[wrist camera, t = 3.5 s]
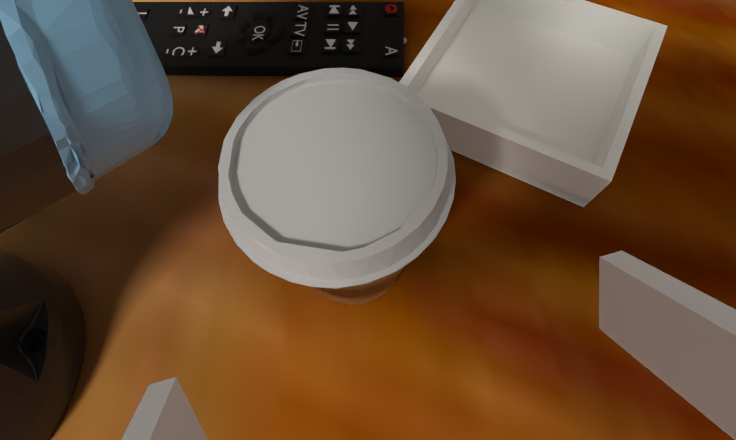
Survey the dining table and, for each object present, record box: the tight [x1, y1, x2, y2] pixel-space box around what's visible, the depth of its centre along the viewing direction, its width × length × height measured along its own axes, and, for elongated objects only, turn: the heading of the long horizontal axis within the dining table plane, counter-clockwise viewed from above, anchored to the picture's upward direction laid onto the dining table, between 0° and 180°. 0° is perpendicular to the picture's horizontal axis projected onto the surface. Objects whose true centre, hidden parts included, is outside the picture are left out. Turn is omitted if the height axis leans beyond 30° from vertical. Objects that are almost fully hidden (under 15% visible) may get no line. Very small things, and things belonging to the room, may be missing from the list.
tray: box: [399, 0, 668, 207], centre depth 29 cm, size 15×15×4 cm
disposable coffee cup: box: [218, 68, 456, 305], centre depth 20 cm, size 10×10×12 cm
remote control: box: [133, 2, 407, 77], centre depth 33 cm, size 8×32×2 cm, turn 88°
